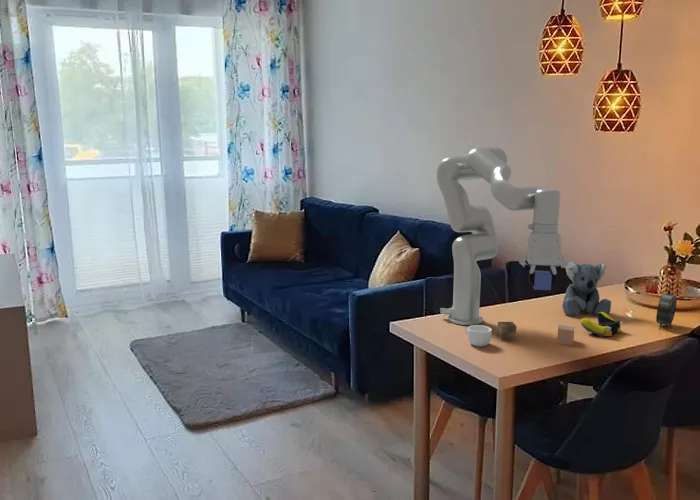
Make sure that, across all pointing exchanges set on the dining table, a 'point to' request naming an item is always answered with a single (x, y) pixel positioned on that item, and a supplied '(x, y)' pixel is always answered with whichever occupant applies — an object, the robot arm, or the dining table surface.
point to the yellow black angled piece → (602, 325)
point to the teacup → (479, 335)
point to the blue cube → (542, 280)
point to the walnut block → (506, 331)
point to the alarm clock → (666, 308)
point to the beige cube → (565, 334)
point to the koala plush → (584, 290)
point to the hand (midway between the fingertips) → (541, 285)
